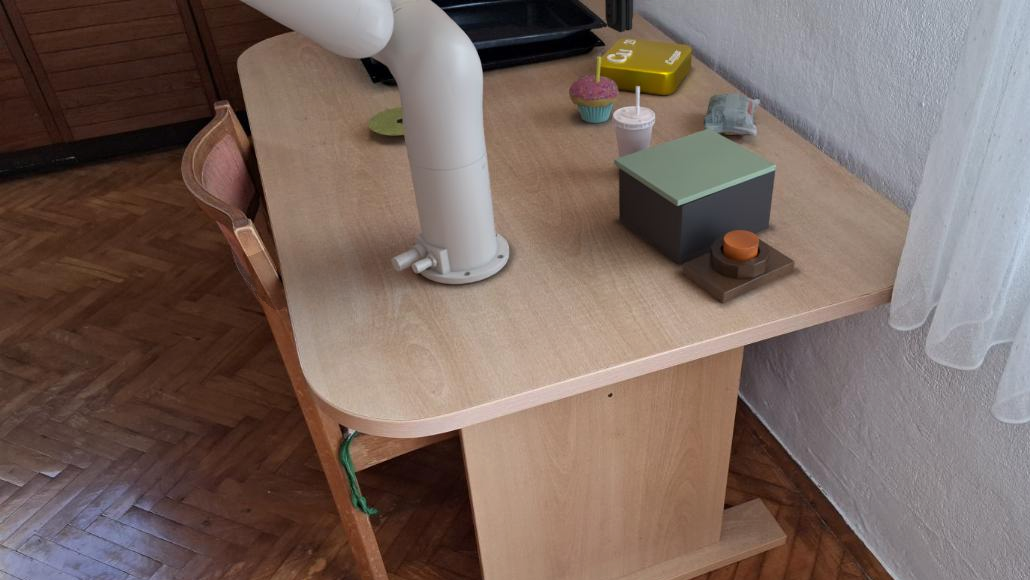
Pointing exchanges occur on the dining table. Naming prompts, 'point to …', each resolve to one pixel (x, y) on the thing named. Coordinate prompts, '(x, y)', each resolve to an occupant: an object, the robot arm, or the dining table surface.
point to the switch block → (736, 271)
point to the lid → (694, 166)
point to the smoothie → (633, 127)
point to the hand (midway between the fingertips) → (619, 27)
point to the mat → (388, 122)
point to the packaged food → (731, 114)
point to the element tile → (646, 65)
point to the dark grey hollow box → (694, 215)
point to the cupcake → (594, 96)
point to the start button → (740, 245)
